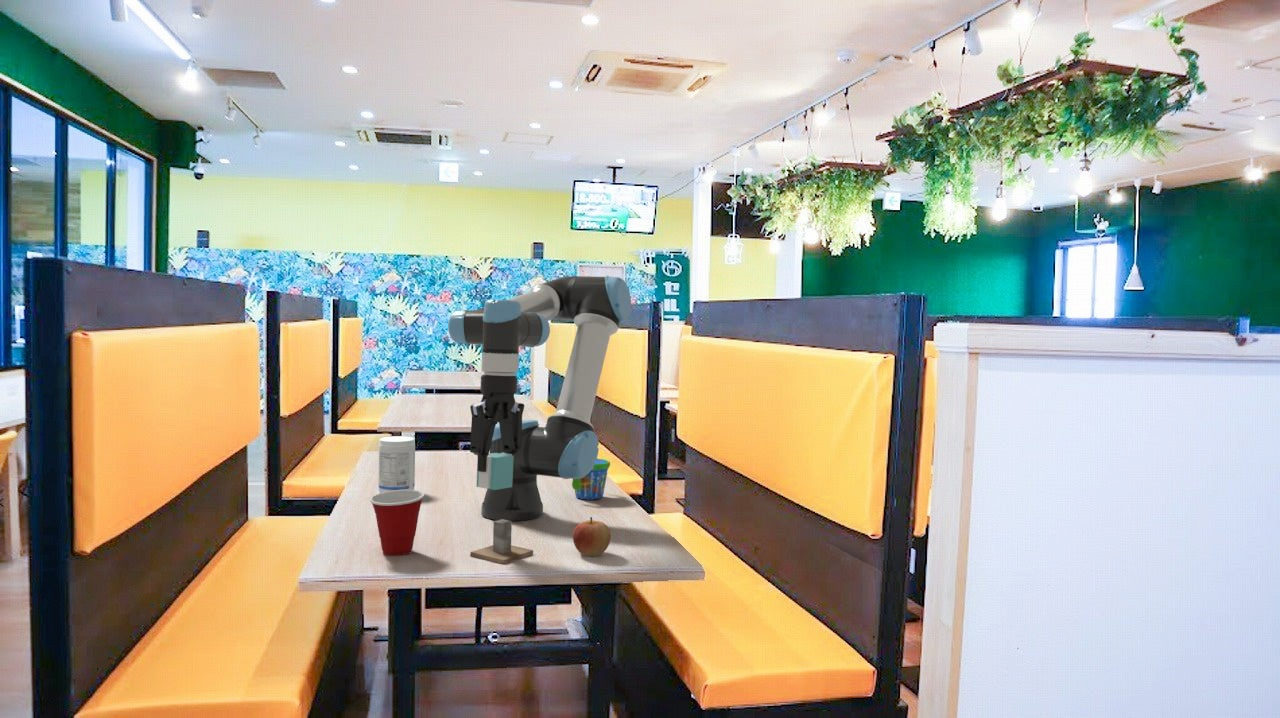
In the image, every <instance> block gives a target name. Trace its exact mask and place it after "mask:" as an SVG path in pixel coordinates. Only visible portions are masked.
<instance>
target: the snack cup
mask: <svg viewBox="0 0 1280 718" xmlns="http://www.w3.org/2000/svg"><path fill="white" fill-rule="evenodd" d="M610 466H611V462H610V461H609V460H607V459H602V458H597V459H596V462H595V464H594V466H593V468H592V470H591V471H590V472H589V474H587V475H586V476H585V477H583V478H580V479H572V482H571V487H572V488H573V490H574V492H575V493H574V494H575V497H576V498H578V499H581V500H585V499H586V500H587V501H594V499H595V500H596V499H597V500H599V499H602V498H603V497H604V494H605V488H606V482H607V475H608V470H609V468H610ZM586 500H585V501H586Z"/></svg>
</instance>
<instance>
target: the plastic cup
mask: <svg viewBox="0 0 1280 718" xmlns="http://www.w3.org/2000/svg"><path fill="white" fill-rule="evenodd" d="M424 496H425V492H423V491H422V490H417V489H414V490H394V491H388V492H383V493H380V492H379V493H376V494H374V495H372V496H371V497H370V498H369V502H370V503H371V505H372V507H373V511H374V513H375V518H376V524H377V530H378V536H379V540H380V546H381V551H382V553H383V554H384V555H385V554H386V556H390V555H393V557H396V555H400V556H405V554H406V555H408V554H411V553H412V550H413V547H414V542H415V537H416V532H417V527H418V526H417V525H418V522H419V515H420V510H421V506H422V502H423V499H424ZM410 552H411V553H410ZM394 555H395V556H394Z"/></svg>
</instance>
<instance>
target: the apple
mask: <svg viewBox="0 0 1280 718" xmlns="http://www.w3.org/2000/svg"><path fill="white" fill-rule="evenodd" d="M611 536H612V534H611V530H610V528H609V527H608V525H607V524H606V523H604V522H602V521H599V520H594V519H593V517H592V516H590V517H589V519H587V520H585V521H583V522H580V523H578V524H577V525H576V526H575V528H574V530H573V532H572V539H573V544H574V547H575V549H576V550H577V551H578V552H579V554H581V555H583V556H588V557H596V556H600V555H601V554H603V553H604V552H605V551H607V549H608V547H609V545H610V543H611Z"/></svg>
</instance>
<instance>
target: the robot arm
mask: <svg viewBox="0 0 1280 718" xmlns="http://www.w3.org/2000/svg"><path fill="white" fill-rule="evenodd" d="M631 313H632V298H631V293H630V289H629V287H628V284H627V283H626V281H625V279H623V278H621V277H619V276H609V275H606V276H590V275H589V276H576V275H571V276H563V277H560V278H559V277H558V278H555V279H551V280H549V281H547V282H542V283H540V284H537V285H535V286H533V287H532V288H530V290H529V291H528V292H526V293H523V294H520V295H518V296H514V297H511V298H508V299H488V300H486V301H485V303H484V306H483V307H480V308H477V309H472V310H469V309H462V310H455V311H454V312H452V314H451V315H450V317H449V319H448V323H447V325H448V334H449V337H450V338H451V340H452V341H454V342H455V343H456V344H457V343H458V344H465V345H482V351H481V352H482V353H481V372H483V374H482V375H481V376H480V392H481V393H482V397H481V399H480V402H479V403H477V404H474V403H473V404H471V405H470V406H469V408H470V412H471V413H470V414H471V424H470V425H471V427H470V443H469V452H470V453H472V454H474V455H475V456H477V461H478V463H477V466H476V471H477V470H478V471H479V482H478V487H477V488H481V487H482V488H483V489H486V488H490V483H491V460H492V456H488V455H489V454H490V453H500V454H506V455H513V456H514V459H513V482H512V487H510V488H504V489H498V490H492V489H486V492H485V495H484V498H483V502H482V503H481V512H480V513H481V517H482V516H483V517H484V518H486V519H491V520H493V521H497V520H501V519H504V520H509V521H512V522H517V521H518V522H519V521H527V520H528V521H529V520H533V519H537V518H540V517H542V516H543V515H544V503H543V502H542V499H541V495H540V490H539V487H538V480H537V479H538V476H543V477H552V478H553V477H554V478H561V479H563V480H570V479H572V480H573V479H580V478H583V477H585V476H586V475H587V474H589V472H590V471H591V470H592V468H593V466H594V464H595V462H596V459H598V454H599V450H600V449H599V444H600V443H599V437H598V436H597V434H596V433H595V427H594V425H593V424H592V422H591V417H592V413H593V409H594V403H595V400H596V397H597V392H598V388H599V384H600V380H601V376H602V371H603V366H604V362H605V359H606V355H607V350H608V346H609V342H610V338H611V336H613V335H615V334H616V333H617V332H618V330H619V327H620V323H622V324H623V323H626V322H628V320H629V319H630V317H631ZM551 320H565V321H567V320H568V321H573V323H574V325H575V326H576V327H577V329H576V332H575V336H574V340H573V344H572V348H571V353H570V355H569V360H568V364H567V368H566V371H565V374H564V378H563V382H562V386H561V387H562V388H561V390H560V395H559V398H558V403H557V406H556V410H555V412H554V413H553V414H551V415H549V416H548V418H547V419H546V424H545V427H544V426H542V427H541V426H540V424H539V421H538V420H536V419H526V420H525V419H523V413H524V410H525V404H524V403H521V402H517V401H516V399H515V394H516V393H517V392H518V377H517V375H516V374H517V373H519V356H520V354H519V349H520V347H524V348H525V347H526V348H535V347H540V346H541V345H544V344H545V343H546V342H547V341H548V339H549V337H550V334H551V327H550V323H549V321H551Z"/></svg>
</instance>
